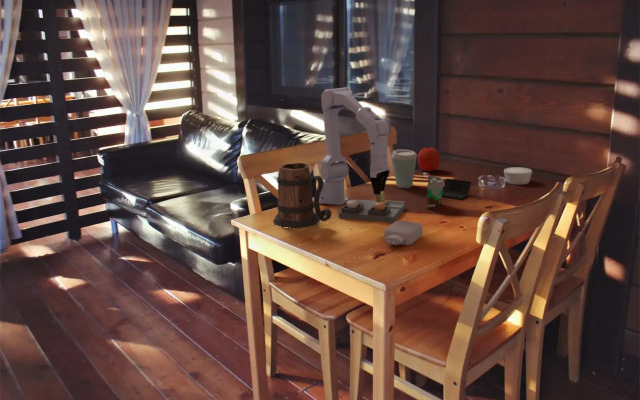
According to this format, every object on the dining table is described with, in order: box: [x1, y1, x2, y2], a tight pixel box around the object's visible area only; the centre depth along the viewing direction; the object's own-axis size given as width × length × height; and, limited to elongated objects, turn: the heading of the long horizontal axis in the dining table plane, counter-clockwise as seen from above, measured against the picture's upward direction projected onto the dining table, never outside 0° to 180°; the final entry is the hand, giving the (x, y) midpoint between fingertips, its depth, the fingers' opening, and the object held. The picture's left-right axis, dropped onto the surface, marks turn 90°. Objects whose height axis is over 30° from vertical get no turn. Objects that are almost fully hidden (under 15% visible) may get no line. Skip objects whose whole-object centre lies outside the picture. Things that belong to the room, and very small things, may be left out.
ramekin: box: [503, 166, 533, 186], centre depth 247 cm, size 11×11×5 cm
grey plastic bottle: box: [384, 219, 423, 246], centre depth 185 cm, size 5×9×15 cm
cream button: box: [346, 199, 358, 209], centre depth 211 cm, size 4×4×2 cm
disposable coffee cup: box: [390, 149, 418, 189], centre depth 245 cm, size 11×11×15 cm
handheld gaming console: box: [442, 178, 472, 201], centre depth 232 cm, size 12×7×10 cm
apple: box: [417, 147, 441, 172], centre depth 270 cm, size 10×10×12 cm
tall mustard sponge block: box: [375, 190, 389, 205], centre depth 216 cm, size 3×5×4 cm, turn 158°
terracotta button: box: [374, 202, 385, 211], centre depth 207 cm, size 4×4×2 cm
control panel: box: [338, 198, 406, 224], centre depth 214 cm, size 20×17×4 cm
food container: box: [426, 175, 445, 210], centre depth 219 cm, size 12×6×10 cm, turn 168°
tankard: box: [272, 162, 332, 229], centre depth 204 cm, size 24×17×20 cm
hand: (379, 192), depth 206 cm, fingers open, 4 cm apart
